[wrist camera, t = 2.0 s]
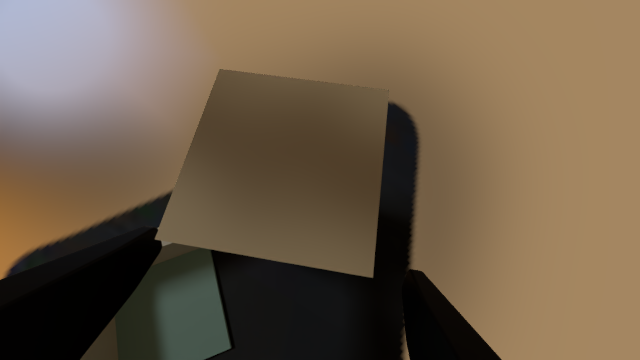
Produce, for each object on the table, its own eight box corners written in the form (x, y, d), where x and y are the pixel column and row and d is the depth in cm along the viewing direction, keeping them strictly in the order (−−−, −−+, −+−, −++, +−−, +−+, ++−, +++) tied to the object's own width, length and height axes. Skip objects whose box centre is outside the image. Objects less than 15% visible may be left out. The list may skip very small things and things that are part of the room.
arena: (257, 425, 14) (234, 482, 11) (109, 494, 14) (27, 582, 10) (212, 227, 18) (184, 218, 15) (96, 270, 18) (33, 271, 14)
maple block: (337, 268, 17) (372, 277, 5) (271, 256, 18) (154, 239, 5) (346, 202, 19) (388, 90, 7) (285, 192, 19) (219, 68, 7)
